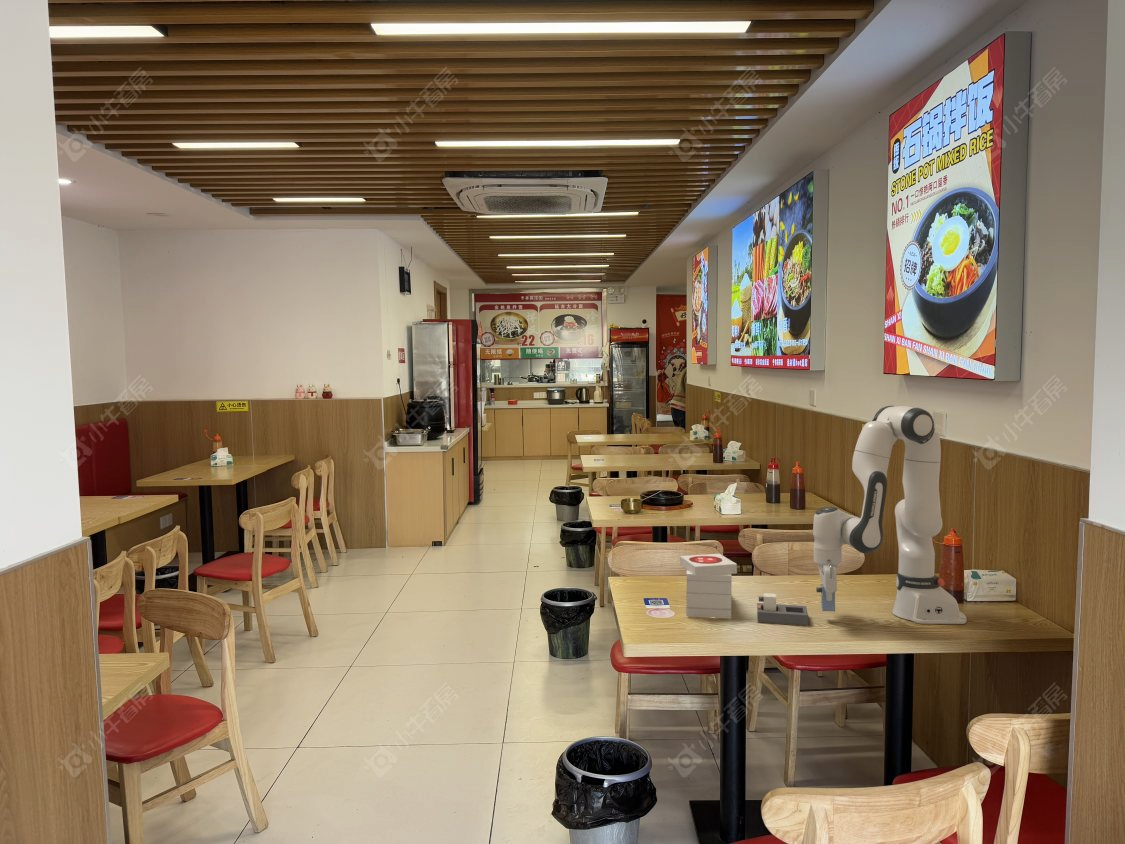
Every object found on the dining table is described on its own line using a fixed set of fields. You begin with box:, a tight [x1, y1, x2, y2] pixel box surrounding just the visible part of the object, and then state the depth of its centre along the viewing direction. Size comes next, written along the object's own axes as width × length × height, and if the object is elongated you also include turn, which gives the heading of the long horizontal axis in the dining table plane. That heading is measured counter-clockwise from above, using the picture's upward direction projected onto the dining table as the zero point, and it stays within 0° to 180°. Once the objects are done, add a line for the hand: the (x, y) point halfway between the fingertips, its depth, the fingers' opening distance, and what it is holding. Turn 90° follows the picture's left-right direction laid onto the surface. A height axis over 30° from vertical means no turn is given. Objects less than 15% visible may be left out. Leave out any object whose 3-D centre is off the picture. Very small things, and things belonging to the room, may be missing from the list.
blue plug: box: [815, 583, 836, 612], centre depth 254 cm, size 6×4×8 cm
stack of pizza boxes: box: [679, 553, 738, 619], centre depth 271 cm, size 19×30×18 cm, turn 170°
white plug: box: [758, 592, 777, 611], centre depth 258 cm, size 6×4×8 cm
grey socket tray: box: [756, 602, 809, 626], centre depth 257 cm, size 16×10×4 cm, turn 76°
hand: (828, 597), depth 254 cm, fingers closed on blue plug, 4 cm apart
